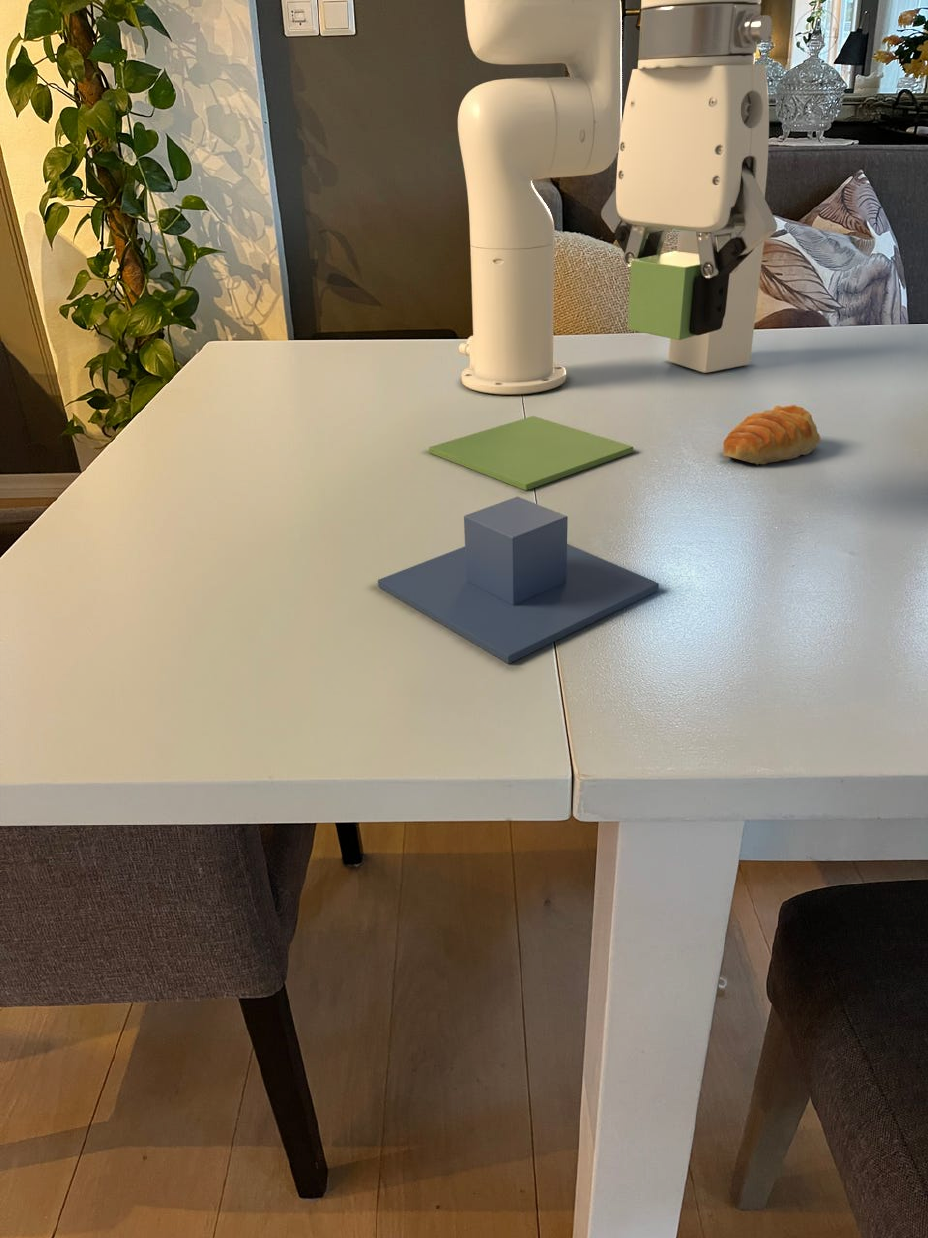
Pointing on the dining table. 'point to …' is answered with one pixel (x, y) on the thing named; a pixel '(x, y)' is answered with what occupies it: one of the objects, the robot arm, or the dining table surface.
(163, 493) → the dining table surface
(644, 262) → the green block
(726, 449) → the pastry
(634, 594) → the blue mat
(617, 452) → the green mat
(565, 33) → the robot arm
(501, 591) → the blue block
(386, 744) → the dining table surface
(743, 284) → the milk carton
